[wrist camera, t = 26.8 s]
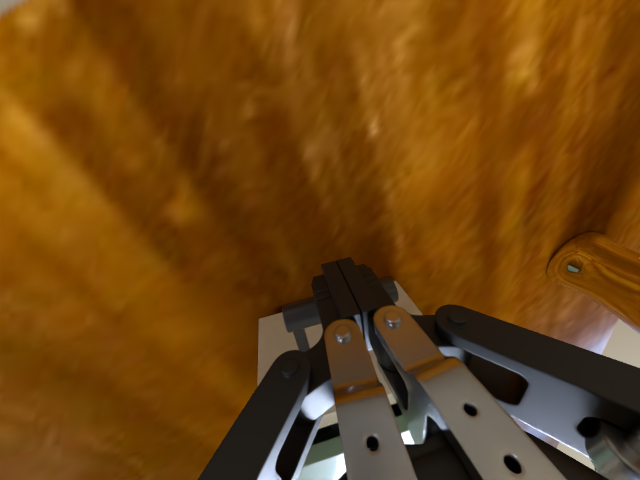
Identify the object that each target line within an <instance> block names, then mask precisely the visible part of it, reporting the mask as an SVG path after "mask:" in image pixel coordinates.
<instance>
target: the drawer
mask: <svg viewBox="0 0 640 480" xmlns="http://www.w3.org/2000/svg"><path fill="white" fill-rule="evenodd" d="M379 281H380V283H381V284H382V285H383V287H384V288H385V290H386V291H387V293H388V294H389V296H390V297H391V299H392V300H393V301H394V303H395V304H396V306H398V307H401V308H403V309H405V310H406V311H407V312H408V313H409V314H412V315H423V314H422V313H421V312H420V310H419V309H418V308H417V307H416V305H415V304H414V303H413V301H412V300H411V299H410V298H409V296H408V295H407V294H406V293H405V291H404V290H403V289H402V287H401V286H400V285H399V284H398V282H397V281H393V280H392V278H391V277H385V278H381V279H379ZM322 333H323V329H322V325H321V321H320V317H319V314H318V310H317V306H316V302H315V298H314V297H312V298H309V299H305V300H301V301H298V302H294V303H290V304H287V305H283V306H282V313H278V314H274V315H271V316H267V317H264V318H260V319H259V343H258V385H259V384H260V382H261V381H262V379H263V378H264V376H265V375H266V373H267V371H268V370H269V368H270V367H271V365H272V364H273V362H274V361H275V359H276V358H277V357H278V356H280V355H281V354H282V353H284V352H287V351H290V350H299V351H302V352H306V351H307V350H309V349H310V348H312V347H313V346H315V345H316V344H317V343H318V341H319V340H320V338H321V336H322ZM369 354H370V357H371V359H372V362H373V365H374V368H375V371H376V374H377V377H378V379H379V381H380V382H381V383H382V384H383V386H384V388H385V391H386V393H387V396H388V399H389V401H390V404H391V407H392V410H393V413H394V415H395V417H396V416H399V415H402V412H401V410H400V408H399V406H398V404H397V402H396V400H395V399H394V397H393V395H392V393H391V391H390V389H389V387H388V385H387V384H386V382H385V380H384V378H383V376H382V374H381V372H380V370H379V368H378V366H377V358H376V355H375V353H374V351H373V349H372V350H369ZM335 423H338V419H337V414H336V408H335V404H334V405H333V406H331V407H330V408H329V409H328V410H326V411H325V412H324V413H323V417H322V420H321V422H320V425H319V427H318V430H317V432H316V435H315V437H314V440H313V442H312V445H314V444H317V443H320V442H323V441H326V440H329V439H331V438H334V437H337V436H340V431H339V428H337V429H334V430H332V429H331V426H330V425H332V424H335Z"/></svg>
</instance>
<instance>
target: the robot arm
mask: <svg viewBox="0 0 640 480" xmlns="http://www.w3.org/2000/svg"><path fill="white" fill-rule="evenodd" d="M321 268H322V273H323V275H320V276H316V277H314V278H313V281H312V285H311V286H312V290H313V294H314V298H315V302H316V306H317V310H318V314H319V317H320V321H321V325H322V329H323V333H322V336H321V338H320V340H319V341H318V343H317V344H316V345H315V346H313V347H312V348H310V349H309V350H307V351H306V352H302V351H299V350H290V351H287V352H284V353H282V354H281V355H280V356H278V357H277V358H276V359H275V361H274V362H273V364H272V365H271V367H270V368H269V370H268V371H267V373H266V375H265V376H264V378H263V379H262V381H261V382H260V384H259V385H258V387H257V389H256V390H255V392H254V393H253V395H252V396H251V398H250V399H249V401H248V402H247V404H246V406H245V407H244V409H243V410H242V412H241V413H240V415H239V416H238V418H237V419H236V421H235V423H234V424H233V426H232V427H231V429H230V430H229V432H228V433H227V435H226V437H225V438H224V440H223V441H222V443H221V444H220V446H219V447H218V449H217V450H216V452H215V454H214V455H213V457H212V458H211V460H210V461H209V463H208V464H207V466H206V467H205V469H204V471H203V472H202V474H201V475H200V477H199V478H198V480H298V477H299V475H300V472H301V470H302V467H303V465H304V462H305V460H306V457H307V455H308V452H309V450H310V447H311V445H312V442H313V440H314V437H315V435H316V432H317V430H318V427H319V425H320V422H321V420H322V417H323V413H324V412H325V411H326V410H328V409H329V408H330V407H331V406H333V405H334V404H335V408H336V414H337V419H338V425H339V431H340V437H341V443H342V449H343V454H344V460H345V466H346V472H345V473H344V474H343V475H342V476H341V477H340V478H339V479H338V480H640V368H637V367H635V366H632V365H629V364H626V363H623V362H620V361H617V360H614V359H611V358H609V357H606V356H603V355H600V354H597V353H594V352H591V351H588V350H586V349H583V348H580V347H577V346H574V345H571V344H568V343H565V342H563V341H560V340H557V339H554V338H551V337H548V336H545V335H542V334H539V333H537V332H534V331H531V330H528V329H525V328H522V327H519V326H516V325H514V324H511V323H508V322H505V321H502V320H499V319H496V318H493V317H490V316H488V315H485V314H482V313H479V312H476V311H473V310H470V309H467V308H465V307H462V306H458V305H444V306H442V307H440V308H439V309H438V310H437V311H436V313H435V315H412V314H409V313H408V312H407V311H406V310H405V309H403V308H401V307H398V306H396V304H395V303H394V301H393V300H392V299H391V297H390V296H389V294H388V293H387V291H386V290H385V288H384V287H383V285H382V284H381V283H380V281H379V279H378V278H377V277H376V275H375V274H374V272H373V271H372V269H371V268H369V267H367V266H366V265H364V264H361V265H357V266H356V265H355V263H354V262H353V260H352V258H351V257H347V258H344V259H340V260H336V261H332V262H329V263H325V264H321ZM372 349H373V351H374V353H375V355H376V358H377V366H378V368H379V370H380V372H381V374H382V376H383V378H384V380H385V382H386V384H387V385H388V387H389V389H390V391H391V393H392V395H393V397H394V399H395V400H396V402H397V404H398V406H399V408H400V410H401V412H402V414H403V416H404V418H405V421H406V424H407V427H408V430H409V433H410V435H411V438H412V440H413V442H414V444H405V443H404V441H403V438H402V435H401V432H400V429H399V427H398V424H397V421H396V418H395V415H394V413H393V410H392V407H391V404H390V401H389V399H388V396H387V393H386V391H385V388H384V386H383V384H382V383H381V382H380V381H379V379H378V377H377V374H376V371H375V368H374V365H373V362H372V359H371V357H370V354H369V350H372ZM510 415H511V416H513V417H514V418H516V419H518V420H520V421H522V422H524V423H526V424H527V425H529V426H531V427H533V428H535V429H537V430H539V431H540V432H542V433H544V434H546V435H548V436H550V437H552V438H553V439H555V440H557V441H559V442H561V443H563V444H565V445H566V446H568V447H570V448H572V449H574V450H576V451H578V452H580V453H581V454H583V455H585V456H587V457H589V458H590V460H591V462H592V463H593V465H594V466H595V471H594V470H592V469H590V468H589V467H587V466H585V465H584V464H582V463H580V462H578V461H576V460H575V459H573V458H572V457H570V456H568V455H566V454H565V453H563V452H561V451H560V450H558V449H556V448H554V447H553V446H551V445H549V444H548V443H546V442H544V441H542V440H541V439H539V438H537V437H535V436H534V435H532V434H530V433H528V432H526V431H523V430H522V429H521V427H520V426H519V425H518V424H517V423H516V422H515V421H514V420H513V418H512V417H511V416H510Z"/></svg>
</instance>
